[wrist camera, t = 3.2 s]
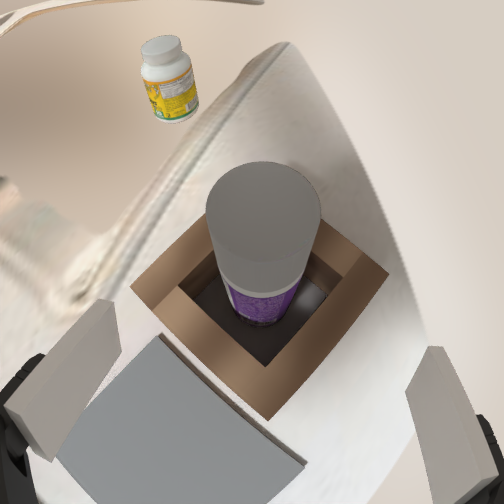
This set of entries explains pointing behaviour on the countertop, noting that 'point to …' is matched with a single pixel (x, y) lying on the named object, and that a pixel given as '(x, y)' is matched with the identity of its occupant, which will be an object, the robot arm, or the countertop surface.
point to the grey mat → (170, 441)
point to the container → (262, 237)
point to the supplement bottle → (169, 79)
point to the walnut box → (225, 347)
